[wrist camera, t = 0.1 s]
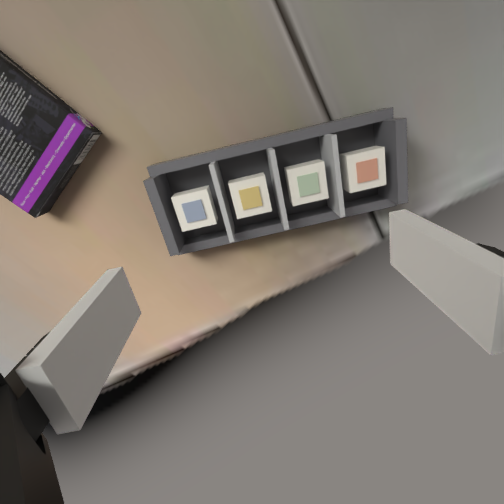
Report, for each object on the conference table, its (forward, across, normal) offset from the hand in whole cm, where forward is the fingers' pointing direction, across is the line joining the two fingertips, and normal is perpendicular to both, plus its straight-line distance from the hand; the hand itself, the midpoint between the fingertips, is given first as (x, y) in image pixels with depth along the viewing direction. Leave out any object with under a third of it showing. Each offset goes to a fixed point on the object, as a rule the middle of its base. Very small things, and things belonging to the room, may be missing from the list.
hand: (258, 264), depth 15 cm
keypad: (+28, +4, -2) cm, 28 cm away
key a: (+25, +7, -2) cm, 26 cm away
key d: (+25, 0, -2) cm, 25 cm away
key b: (+25, -7, -2) cm, 26 cm away
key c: (+25, +14, -1) cm, 29 cm away
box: (+29, -28, +13) cm, 42 cm away
